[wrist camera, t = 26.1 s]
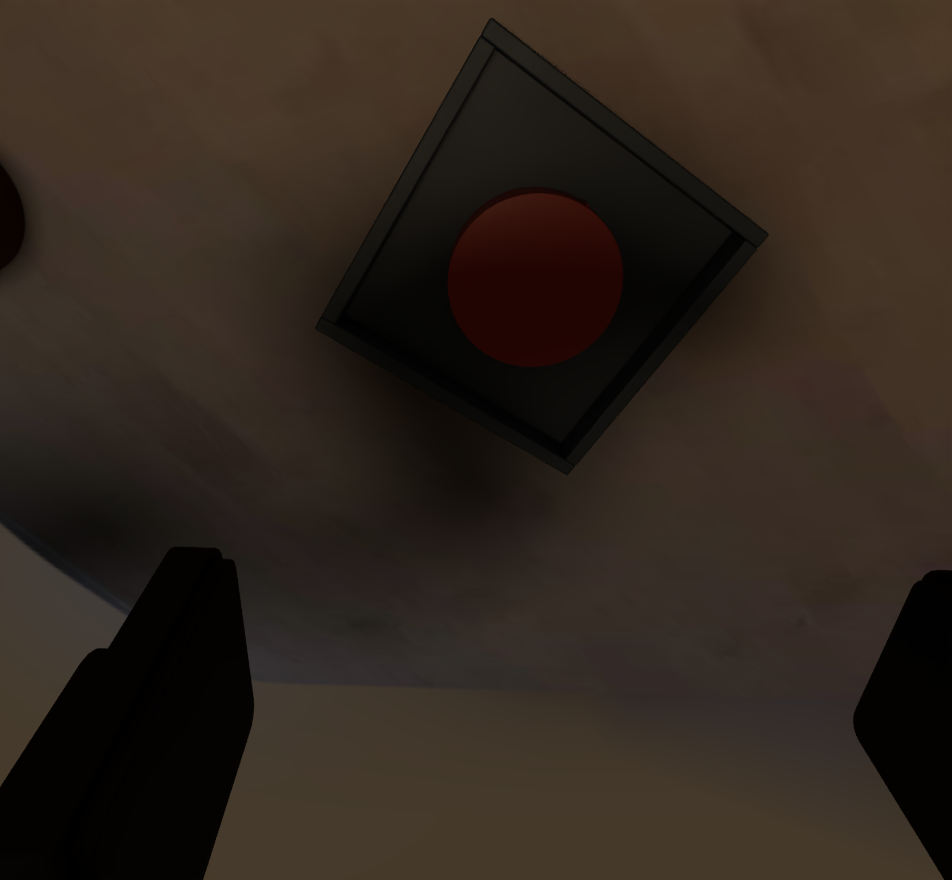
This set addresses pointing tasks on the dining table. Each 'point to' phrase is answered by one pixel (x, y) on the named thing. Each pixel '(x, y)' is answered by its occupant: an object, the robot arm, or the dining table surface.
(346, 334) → the tray
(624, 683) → the dining table surface
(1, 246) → the jar
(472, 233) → the jar lid
